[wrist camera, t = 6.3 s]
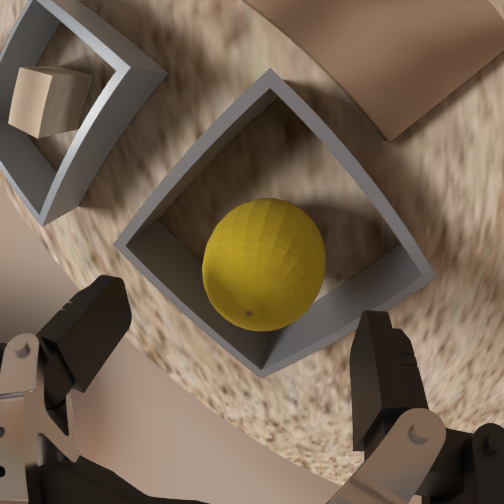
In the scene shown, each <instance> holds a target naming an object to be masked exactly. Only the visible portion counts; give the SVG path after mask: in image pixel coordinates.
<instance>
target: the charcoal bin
mask: <svg viewBox="0 0 504 504" xmlns="http://www.w3.org/2000/svg"><path fill="white" fill-rule="evenodd" d="M278 96H279V97H280V98H281V99H282V100H283V101H284V102H285V103H286V104H287V105H288V106H289V107H290V108H291V109H292V110H293V111H294V112H295V113H296V114H297V115H298V116H299V118H300V119H301V120H302V121H303V122H304V123H305V124H306V125H307V126H308V127H309V128H310V129H311V130H312V131H313V132H314V134H315V135H316V136H317V137H318V138H319V139H320V140H321V141H322V142H323V144H324V145H325V146H326V147H327V148H328V149H329V150H330V152H331V153H332V154H333V155H334V156H335V157H336V158H337V160H338V161H339V162H340V163H341V164H342V166H343V167H344V168H345V169H346V170H347V172H348V173H349V174H350V175H351V176H352V178H353V179H354V180H355V181H356V183H357V184H358V185H359V186H360V188H361V189H362V190H363V192H364V193H365V194H366V195H367V197H368V198H369V199H370V201H371V202H372V203H373V205H374V206H375V207H376V209H377V210H378V211H379V213H380V214H381V215H382V217H383V218H384V219H385V221H386V222H387V224H388V225H389V226H390V228H391V229H392V231H393V232H394V233H395V235H396V236H397V238H398V239H399V241H400V242H401V243H400V244H399V245H397V246H396V247H395V248H393V249H392V250H391V251H389V252H388V253H386V254H385V255H384V256H382V257H381V258H379V259H378V260H377V261H375V262H374V263H372V264H371V265H370V266H368V267H367V268H365V269H364V270H362V271H361V272H359V273H358V274H357V275H355V276H354V277H352V278H351V279H349V280H348V281H346V282H345V283H343V284H342V285H340V286H339V287H337V288H336V289H334V290H333V291H331V292H330V293H328V294H327V295H325V296H323V297H322V298H320V299H319V300H317V301H316V302H314V303H313V304H312V305H311V306H310V308H309V309H308V311H307V312H306V313H305V314H303V315H302V316H301V317H300V318H299V319H298V320H297V321H295V322H293V323H291V324H289V325H287V326H285V327H283V328H280V329H276V330H272V331H252V330H247V329H244V328H241V327H238V326H236V325H234V324H232V323H231V322H229V321H228V320H226V319H225V318H224V317H223V316H222V315H221V314H220V313H219V312H218V311H216V309H215V308H214V306H213V305H212V303H211V302H210V300H209V298H208V296H207V293H206V291H205V288H204V283H203V273H202V265H203V264H202V263H201V262H200V261H199V260H198V259H197V258H196V257H195V256H194V255H193V254H192V253H191V252H190V251H189V250H188V249H187V248H186V247H185V246H184V245H183V244H182V243H181V242H180V241H179V240H178V239H177V238H176V237H175V236H174V235H173V234H172V233H171V232H170V231H169V230H168V229H167V228H166V227H165V226H164V225H163V224H162V223H161V222H160V221H159V220H158V219H159V218H160V217H161V216H162V215H163V213H164V212H165V211H166V210H167V209H168V208H169V207H170V205H171V204H172V203H173V202H174V201H175V200H176V199H177V198H178V196H179V195H180V194H181V193H182V192H183V191H184V190H185V189H186V188H187V186H188V185H189V184H190V183H191V182H192V181H193V180H194V179H195V178H196V177H197V176H198V175H199V173H200V172H201V171H202V170H203V169H204V168H205V167H206V166H207V165H208V164H209V163H210V162H211V161H212V160H213V159H214V158H215V157H216V156H217V155H218V154H219V153H220V152H221V151H222V150H223V149H224V148H225V147H226V146H227V145H228V144H229V143H230V142H231V141H232V140H233V139H234V138H235V137H236V136H237V135H238V134H239V133H240V132H241V131H242V130H243V129H244V128H245V127H246V126H247V125H248V124H249V123H250V122H251V121H252V120H253V119H254V118H255V117H256V116H257V115H259V114H260V113H261V112H262V111H263V110H264V109H265V108H266V107H267V106H268V105H269V104H270V103H272V102H273V101H274V100H275V99H276V98H277V97H278ZM113 245H114V246H115V247H116V248H117V249H118V250H119V251H120V252H121V253H122V254H123V255H124V256H125V257H126V258H127V259H128V260H129V261H130V262H131V263H132V264H133V265H134V266H135V267H136V268H137V269H138V270H139V271H140V272H141V273H142V274H143V275H144V276H145V277H146V278H147V279H148V280H149V281H150V282H151V283H152V284H153V285H154V286H155V287H156V288H157V289H158V290H159V291H160V292H161V293H162V294H163V295H164V296H165V297H166V298H167V299H169V300H170V301H171V302H172V303H173V304H174V305H175V306H176V307H177V308H178V309H179V310H180V311H182V312H183V313H184V314H185V315H186V316H187V317H188V318H189V319H190V320H191V321H193V322H194V323H195V324H196V325H197V326H198V327H199V328H201V329H202V330H203V331H204V332H205V333H206V334H207V335H209V336H210V337H211V338H212V339H213V340H214V341H216V342H217V343H218V344H219V345H220V346H221V347H223V348H224V349H225V350H226V351H227V352H229V353H230V354H231V355H232V356H233V357H235V358H236V359H237V360H238V361H240V362H241V363H242V364H243V365H245V366H246V367H247V368H248V369H250V370H251V371H252V372H253V373H255V374H256V375H257V376H258V377H260V378H264V377H266V376H268V375H270V374H272V373H274V372H276V371H279V370H281V369H283V368H285V367H287V366H289V365H291V364H293V363H295V362H297V361H299V360H301V359H303V358H305V357H307V356H309V355H311V354H313V353H315V352H317V351H319V350H320V349H322V348H324V347H326V346H328V345H330V344H332V343H333V342H335V341H337V340H339V339H341V338H342V337H344V336H346V335H348V334H349V333H351V332H353V331H355V330H356V329H357V328H358V324H359V321H360V318H361V314H362V312H363V311H364V310H373V311H388V310H389V309H391V308H392V307H394V306H396V305H397V304H399V303H400V302H402V301H403V300H405V299H406V298H408V297H409V296H411V295H412V294H414V293H415V292H417V291H418V290H420V289H421V288H422V287H424V286H425V285H427V284H428V283H430V282H431V281H432V280H434V279H435V278H437V276H436V274H435V273H434V271H433V269H432V268H431V266H430V264H429V262H428V261H427V259H426V258H425V256H424V254H423V253H422V251H421V249H420V248H419V246H418V245H417V243H416V242H415V240H414V238H413V237H412V235H411V234H410V232H409V231H408V229H407V228H406V226H405V225H404V223H403V222H402V220H401V219H400V217H399V216H398V215H397V213H396V212H395V210H394V209H393V207H392V206H391V205H390V203H389V202H388V200H387V199H386V198H385V196H384V195H383V194H382V192H381V191H380V190H379V188H378V187H377V186H376V184H375V183H374V182H373V180H372V179H371V178H370V176H369V175H368V174H367V173H366V171H365V170H364V169H363V168H362V166H361V165H360V164H359V163H358V161H357V160H356V159H355V158H354V156H353V155H352V154H351V153H350V152H349V150H348V149H347V148H346V147H345V146H344V144H343V143H342V142H341V141H340V140H339V139H338V137H337V136H336V135H335V134H334V133H333V132H332V131H331V130H330V128H329V127H328V126H327V125H326V124H325V123H324V122H323V121H322V120H321V118H320V117H319V116H318V115H317V114H316V113H315V112H314V111H313V110H312V109H311V108H310V107H309V106H308V105H307V104H306V103H305V102H304V101H303V99H302V98H301V97H300V96H299V95H298V94H297V93H296V92H295V91H294V90H293V89H292V88H291V87H290V86H289V85H287V84H286V83H285V82H284V81H283V80H282V79H281V78H280V77H279V76H278V75H277V74H276V73H275V72H274V71H273V70H272V69H271V68H270V69H269V70H268V71H266V72H265V73H264V74H263V75H262V76H261V77H260V78H259V79H258V80H257V81H255V82H254V83H253V84H252V85H251V86H250V87H249V88H248V89H247V90H246V91H245V92H244V93H243V94H242V95H241V96H240V97H239V98H238V99H237V100H236V101H235V102H234V103H233V104H232V105H231V106H230V107H229V108H228V109H227V110H226V111H225V112H224V113H223V114H222V115H221V116H220V117H219V118H218V119H217V120H216V121H215V122H214V123H213V124H212V125H211V126H210V127H209V128H208V129H207V130H206V131H205V132H204V134H203V135H202V136H201V137H200V138H199V139H198V140H197V141H196V142H195V143H194V144H193V146H192V147H191V148H190V149H189V150H188V151H187V152H186V153H185V155H184V156H183V157H182V158H181V159H180V160H179V161H178V163H177V164H176V165H175V166H174V167H173V168H172V170H171V171H170V172H169V173H168V174H167V175H166V177H165V178H164V179H163V180H162V181H161V183H160V184H159V185H158V186H157V188H156V189H155V190H154V191H153V193H152V194H151V195H150V196H149V198H148V199H147V200H146V201H145V203H144V204H143V205H142V206H141V208H140V209H139V210H138V212H137V213H136V214H135V216H134V217H133V218H132V220H131V221H130V222H129V224H128V225H127V226H126V228H125V229H124V230H123V232H122V233H121V234H120V236H119V237H118V239H117V240H116V241H115V243H114V244H113Z"/></svg>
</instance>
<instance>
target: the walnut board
mask: <svg viewBox="0 0 504 504" xmlns="http://www.w3.org/2000/svg"><path fill="white" fill-rule="evenodd" d="M242 1H243V2H245V3H246V4H247V5H249V6H250V7H251V8H253V9H254V10H255V11H257V12H258V13H259V14H261V15H262V16H263V17H264V18H266V19H267V20H268V21H269V22H271V23H272V24H273V25H274V26H275V27H277V28H278V29H279V30H280V31H281V32H283V33H284V34H285V35H286V36H287V37H288V38H290V39H291V40H292V41H293V42H294V43H295V44H296V45H298V46H299V47H300V48H301V49H302V50H303V51H304V52H305V53H306V54H307V55H308V56H309V57H310V58H312V59H313V60H314V61H315V62H316V63H317V64H318V65H319V66H320V67H321V68H322V69H323V70H324V71H325V72H326V73H327V74H328V75H329V76H330V77H331V78H332V79H333V80H334V81H335V83H336V84H337V85H338V86H339V87H340V88H341V89H342V90H343V91H344V92H345V93H346V94H347V95H348V97H349V98H350V99H351V100H352V101H353V102H354V103H355V104H356V106H357V107H358V108H359V109H360V110H361V111H362V113H363V114H364V115H365V116H366V117H367V118H368V120H369V121H370V122H371V123H372V125H373V126H374V127H375V128H376V129H377V131H378V132H379V133H380V134H381V136H382V137H383V138H384V140H385V141H387V142H391V141H392V140H393V139H395V138H396V137H397V136H398V135H400V134H401V133H402V132H403V131H405V130H406V129H407V128H408V127H410V126H411V125H412V124H413V123H415V122H416V121H417V120H418V119H419V118H421V117H422V116H423V115H424V114H426V113H427V112H428V111H429V110H431V109H432V108H433V107H434V106H436V105H437V104H438V103H439V102H441V101H442V100H443V99H444V98H446V97H447V96H448V95H449V94H450V93H452V92H453V91H454V90H455V89H457V88H458V87H459V86H460V85H462V84H463V83H464V82H465V81H467V80H468V79H469V78H470V77H472V76H473V75H474V74H475V73H477V72H478V71H479V70H480V69H481V68H483V67H484V66H485V65H486V64H488V63H489V62H490V61H491V60H493V59H494V58H495V57H496V56H498V55H499V54H500V53H501V52H503V51H504V20H503V19H502V17H501V16H500V15H499V13H498V12H497V11H496V9H495V8H494V7H493V5H492V4H491V3H490V2H489V0H242Z"/></svg>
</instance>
